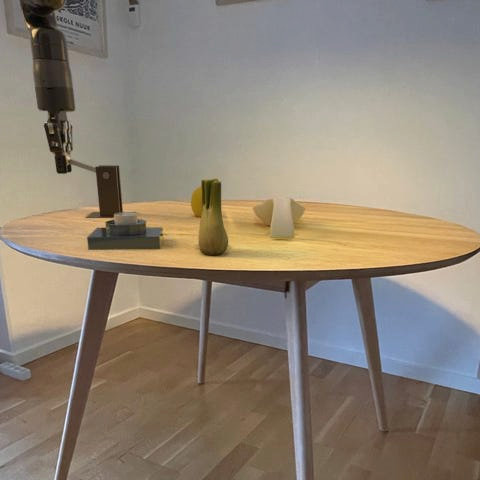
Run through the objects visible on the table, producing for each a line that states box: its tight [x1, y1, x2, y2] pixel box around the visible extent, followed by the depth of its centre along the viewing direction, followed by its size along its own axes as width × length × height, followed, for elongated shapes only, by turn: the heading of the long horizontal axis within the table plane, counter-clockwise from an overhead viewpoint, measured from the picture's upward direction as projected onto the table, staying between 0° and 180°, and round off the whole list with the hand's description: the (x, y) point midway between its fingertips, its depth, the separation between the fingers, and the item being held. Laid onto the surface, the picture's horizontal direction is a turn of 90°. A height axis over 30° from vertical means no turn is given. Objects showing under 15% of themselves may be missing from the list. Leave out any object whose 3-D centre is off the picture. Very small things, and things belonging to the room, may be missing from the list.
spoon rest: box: [252, 196, 307, 239], centre depth 98 cm, size 24×12×7 cm, turn 179°
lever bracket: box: [85, 164, 137, 219], centre depth 106 cm, size 10×8×12 cm
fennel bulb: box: [197, 178, 229, 256], centre depth 75 cm, size 6×5×12 cm
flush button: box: [113, 211, 139, 224], centre depth 82 cm, size 4×4×2 cm
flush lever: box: [64, 152, 96, 174], centre depth 103 cm, size 13×3×3 cm, turn 95°
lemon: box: [190, 184, 202, 218], centre depth 107 cm, size 6×6×8 cm
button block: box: [86, 218, 164, 251], centre depth 83 cm, size 12×9×4 cm
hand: (64, 172), depth 103 cm, fingers closed on flush lever, 3 cm apart
